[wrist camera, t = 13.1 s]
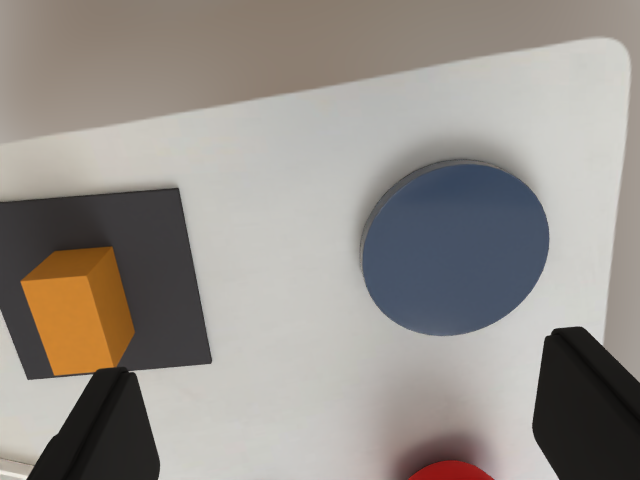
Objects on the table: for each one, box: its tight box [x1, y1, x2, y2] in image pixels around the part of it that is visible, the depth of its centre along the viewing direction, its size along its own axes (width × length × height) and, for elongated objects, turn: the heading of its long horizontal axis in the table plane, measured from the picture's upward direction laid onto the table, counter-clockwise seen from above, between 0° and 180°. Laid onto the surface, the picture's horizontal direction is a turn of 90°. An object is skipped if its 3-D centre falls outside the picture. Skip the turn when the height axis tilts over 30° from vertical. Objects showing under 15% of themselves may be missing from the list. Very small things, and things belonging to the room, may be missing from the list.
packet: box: [21, 246, 135, 376], centre depth 36 cm, size 8×4×5 cm, turn 4°
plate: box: [360, 160, 549, 336], centre depth 38 cm, size 15×15×2 cm
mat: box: [0, 188, 212, 380], centre depth 38 cm, size 16×16×1 cm
